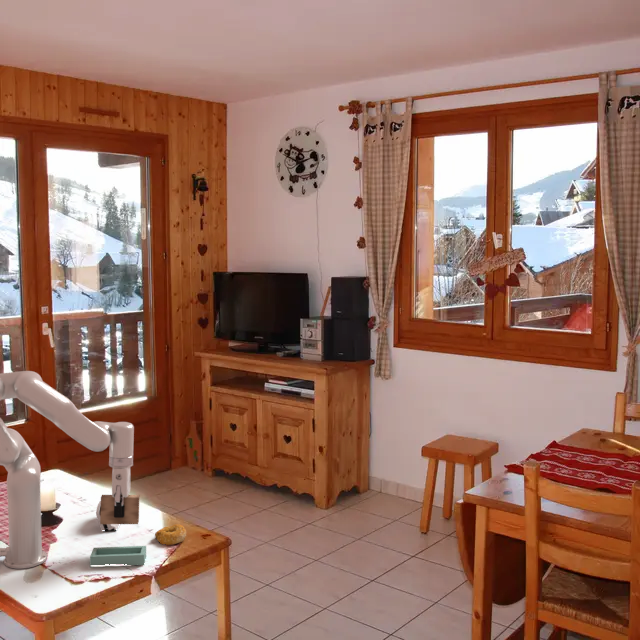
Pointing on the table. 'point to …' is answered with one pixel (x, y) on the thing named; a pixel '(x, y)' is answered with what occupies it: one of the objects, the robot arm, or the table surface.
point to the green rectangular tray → (118, 555)
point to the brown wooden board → (129, 510)
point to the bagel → (171, 534)
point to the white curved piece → (104, 526)
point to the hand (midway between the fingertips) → (119, 515)
